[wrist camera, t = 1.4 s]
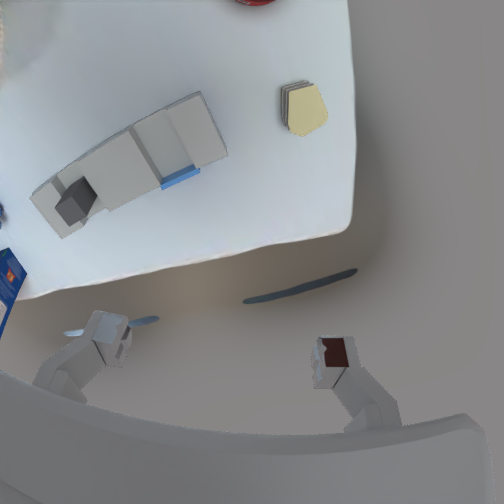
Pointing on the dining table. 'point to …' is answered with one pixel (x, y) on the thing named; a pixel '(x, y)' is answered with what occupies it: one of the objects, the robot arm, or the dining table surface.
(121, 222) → the dining table surface
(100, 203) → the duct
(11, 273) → the pasta box
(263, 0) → the canned food
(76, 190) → the dark grey rectangular box
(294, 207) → the dining table surface
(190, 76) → the dining table surface
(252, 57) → the dining table surface
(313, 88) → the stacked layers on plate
